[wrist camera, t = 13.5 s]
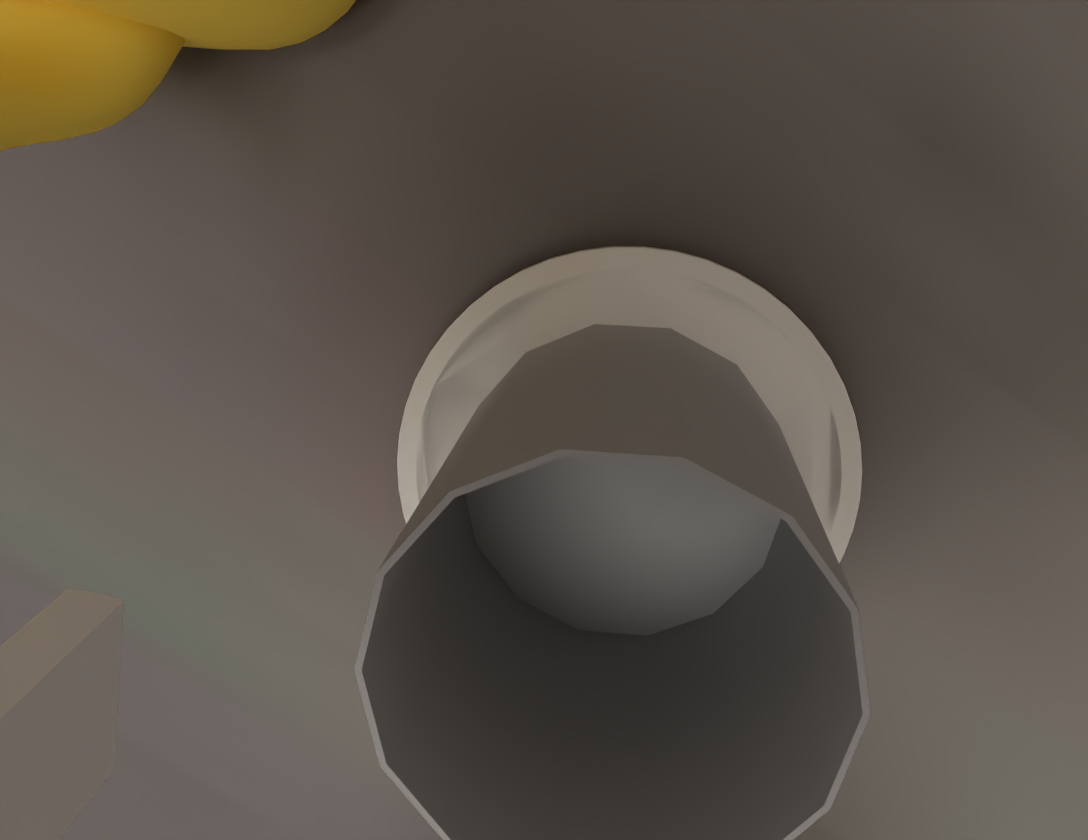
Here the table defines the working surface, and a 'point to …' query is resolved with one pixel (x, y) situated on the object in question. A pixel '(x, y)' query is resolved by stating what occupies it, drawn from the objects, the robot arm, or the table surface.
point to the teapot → (123, 53)
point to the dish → (646, 301)
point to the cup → (616, 612)
